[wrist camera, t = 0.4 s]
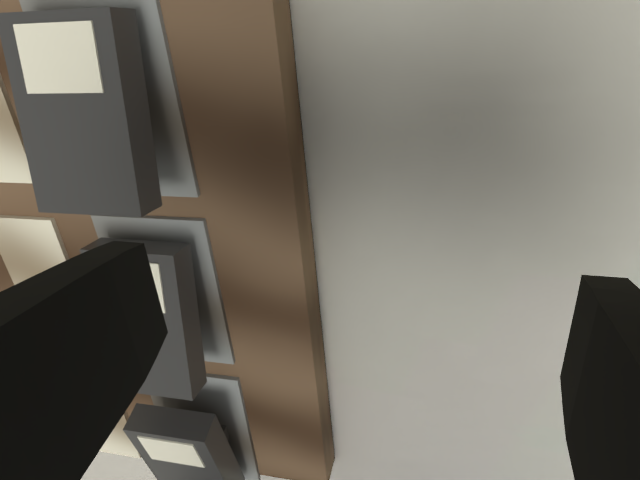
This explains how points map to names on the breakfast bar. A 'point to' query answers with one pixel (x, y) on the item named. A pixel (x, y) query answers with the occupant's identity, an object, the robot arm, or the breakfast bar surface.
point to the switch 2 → (182, 444)
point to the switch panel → (211, 220)
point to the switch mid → (173, 321)
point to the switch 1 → (83, 109)
